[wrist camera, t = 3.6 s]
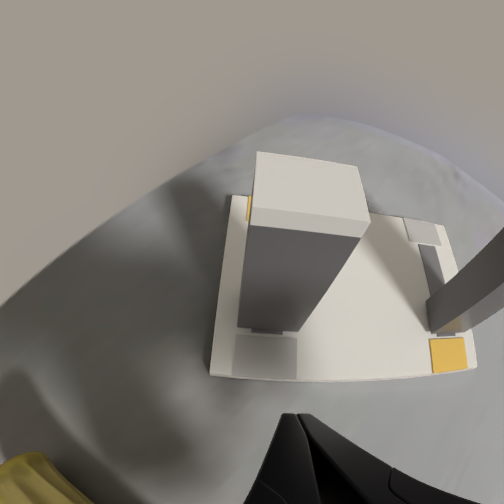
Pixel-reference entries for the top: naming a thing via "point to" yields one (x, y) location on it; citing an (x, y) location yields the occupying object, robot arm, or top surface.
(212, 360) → the switch board
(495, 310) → the switch
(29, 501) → the vase
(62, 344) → the top surface
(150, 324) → the top surface
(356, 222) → the switch
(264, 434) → the top surface
